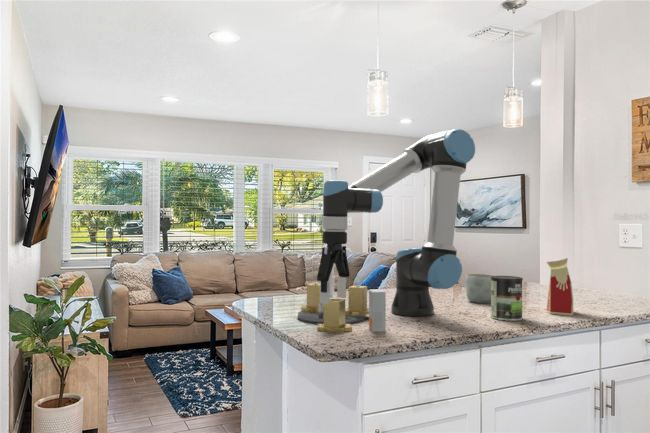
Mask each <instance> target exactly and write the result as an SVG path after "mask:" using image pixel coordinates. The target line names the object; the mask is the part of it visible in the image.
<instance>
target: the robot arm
mask: <svg viewBox="0 0 650 433" xmlns="http://www.w3.org/2000/svg"><path fill="white" fill-rule="evenodd" d="M475 154H476V145H475V141H474V139H473V137H471V135H470V133H468V132H467V131H465V130H464V129H461V128H455V129H448V130H445V131H440V132H438V133H433V134H429V135H426V136H425V137H422V138H420V140H418V141H417V142H415V143H413V144H412V145H410V146H409V147H407V148H405V149H404V150H403V151H402V154H401V155H399V156H398V157H396V158H394V159H392V160H391V161H389V162H387V163H385V164H384V165H382V166H381V167H379V168H377V169H376V170H373V171H372V172H370V173H368V174H367V175H365V176H364V177H362V178H360V179H359V180H357V181H355V182H353V183H352V184H350V185H349V182H348V181H347V180H342V179H340V180H339V179H337V180H336V179H334V180H332V179H330V180H326V181H325V182H323V183H324V184H323V191H322V199H323V200H322V202H323V204H322V220H321V223H322V230H324V231H323V232H322V244H326V245H327V246H326V247H325V246H324V247H322V248H321V257H320V260H319V261H320V262H319V263H320V265H319V264H318V271H317V274H316V275H317V276H316V280H317V282H319V281H320V303H323V304H330V281H328V280H329V277H330V274H331V271H332V268H333V265H334V263H335V265H334V266H335V267H336V271H337V274H338V277H337V294H336V295H337V296H336V297H337V299H346V298H347V278H349V277H350V269H349V263H348V255H347V247H346V246H345V245H346V244H347V243H348V232H347V230H348V213H349V214H350V213H356V214H357V213H367V214H368V213H369V214H371V213H378V212H380V211H381V210H382V208H383V205H384V197H383V193H382V192H384V191H385V190H387V189H389V188H391V187H392V186H393V185H395V184H397V183H399V182H400V181H402V180H403V179H405V178H406V177H408V176H410V175H411V174H418V173H421V172H422V171H423V170H427V169H429V168H430V169H431V170H432V171H433V172H434V179H433V188H432V196H431V206H430V214H429V222H428V223H429V224H428V231H427V232H428V233H427V238H426V239H427V240H426V242H425V243H424V244H423V245H422V246H421V248H418V247H417V248H406V249H399V250H398V251H397V252H396V258H395V262H396V264H395V265H396V266H395V267H396V269H395V270H396V271H395V272H396V273H395V274H396V276H395V278H396V282H395V283H396V289H395V290H396V291H395V294H394V298H393V300H392V303H391V313H392V314H394V315H399V316H407V317H424V316H431V315H433V314H434V313H435V306H434V304H433V301H432V298H431V294H430V288H433V289H435V290H448V289H451V288H453V287H454V286H455V285H456V284H457V283H459V281H460V279H461V276H462V274H463V266H462V262H460V261H461V260H460V258H459V257H458V256H457V251H458V250H457V249H456V248H455V246H454V238H455V237H454V236H455V227H456V219H457V209H458V203H459V202H458V200H459V192H460V183H461V182H460V181H461V177H462V176H461V175H463V174H464V173H465V172H466V171H467V165H468V164H467V163H469V162H470V161H472V159H474V157H475Z"/></svg>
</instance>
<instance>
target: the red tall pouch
mask: <svg viewBox="0 0 650 433" xmlns="http://www.w3.org/2000/svg"><path fill="white" fill-rule="evenodd" d="M568 259H569V258H568V257H566V258H564V259H559V260H554V261H553V260H551V261H546V263H547V264H548V267H549V268H550V276H549V285H548V287H549V288H548V295H547V304H546V310H545V311H546V312H545V313H547V314H550V315H559V316H573V315H574V293H573V284H572V281H571V277H570V273H569V268H568Z"/></svg>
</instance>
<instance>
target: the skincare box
mask: <svg viewBox="0 0 650 433" xmlns="http://www.w3.org/2000/svg"><path fill="white" fill-rule="evenodd" d="M386 300H387V298H386V291H385V290H383V289H377V288H376V289H374V288H373V289H368V308H369V315H368V328H369V329H370V330H371V332H372V333H373V332H374V333H375V332H376V333H377V332H379V333H381V332H382V333H383V332H386V329H387V328H386V322H387V320H386V312H387V308H386V306H387V305H386Z"/></svg>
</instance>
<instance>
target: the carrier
mask: <svg viewBox="0 0 650 433" xmlns="http://www.w3.org/2000/svg"><path fill="white" fill-rule="evenodd" d="M347 306H348V307H345V324H351V325H352V324H355V323H360V322H363V321H365V320H366V316H369V307H368V286H367V285H360V284H356V285H350V286H349V287H348V304H347ZM297 319H298V320H299V321H301V322H304V323H308V324H309V323H310V324H313V325H315V324H316V325H318V324H324V304H323V303H320V284H319V282H318V281H317V282H313V283H308V284H306V304H302V305H301V307H300V311H298V312H297Z"/></svg>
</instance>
